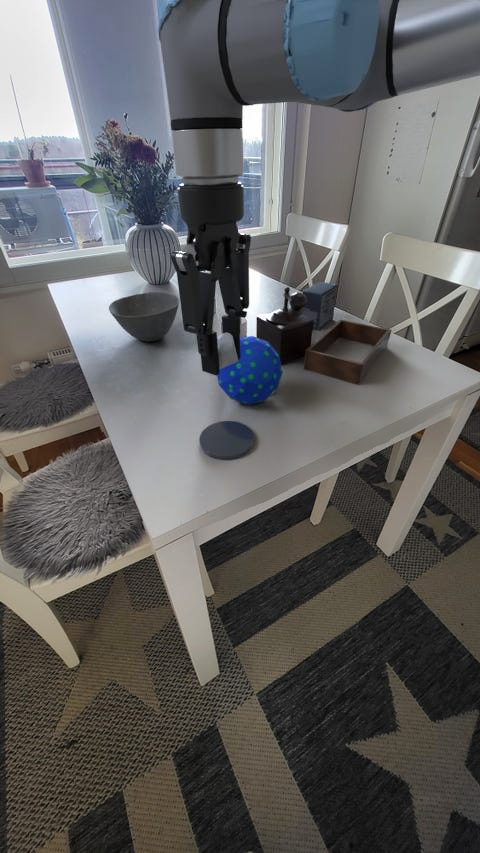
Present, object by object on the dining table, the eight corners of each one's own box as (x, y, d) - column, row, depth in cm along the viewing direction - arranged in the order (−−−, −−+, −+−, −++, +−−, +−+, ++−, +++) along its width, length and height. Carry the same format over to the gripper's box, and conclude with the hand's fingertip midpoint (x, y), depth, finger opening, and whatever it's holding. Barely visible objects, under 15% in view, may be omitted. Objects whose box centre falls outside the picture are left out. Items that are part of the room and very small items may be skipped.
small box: (314, 314, 110) (318, 280, 103) (333, 319, 107) (338, 283, 100) (298, 326, 103) (301, 290, 97) (318, 330, 100) (323, 294, 94)
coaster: (264, 435, 64) (264, 432, 64) (233, 467, 58) (233, 464, 57) (221, 417, 69) (221, 414, 68) (188, 446, 62) (187, 443, 62)
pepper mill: (252, 351, 91) (252, 279, 80) (285, 340, 96) (289, 271, 85) (290, 375, 81) (296, 297, 70) (325, 362, 86) (336, 287, 74)
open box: (386, 347, 91) (391, 329, 88) (358, 385, 77) (363, 365, 74) (337, 336, 97) (340, 319, 94) (303, 369, 83) (305, 350, 80)
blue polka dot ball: (252, 335, 80) (273, 315, 66) (278, 390, 82) (305, 382, 67) (198, 360, 77) (208, 346, 63) (226, 417, 79) (242, 415, 64)
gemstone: (258, 348, 52) (233, 333, 49) (239, 385, 53) (213, 373, 50) (237, 339, 56) (213, 325, 53) (220, 373, 57) (196, 361, 54)
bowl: (174, 320, 109) (169, 287, 103) (191, 343, 96) (187, 307, 89) (113, 331, 104) (104, 297, 97) (123, 357, 90) (113, 320, 84)
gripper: (229, 175, 46) (234, 338, 61) (126, 186, 35) (163, 383, 50) (278, 175, 43) (271, 348, 58) (182, 188, 32) (204, 399, 46)
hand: (221, 364), depth 54 cm, fingers closed on gemstone, 5 cm apart
